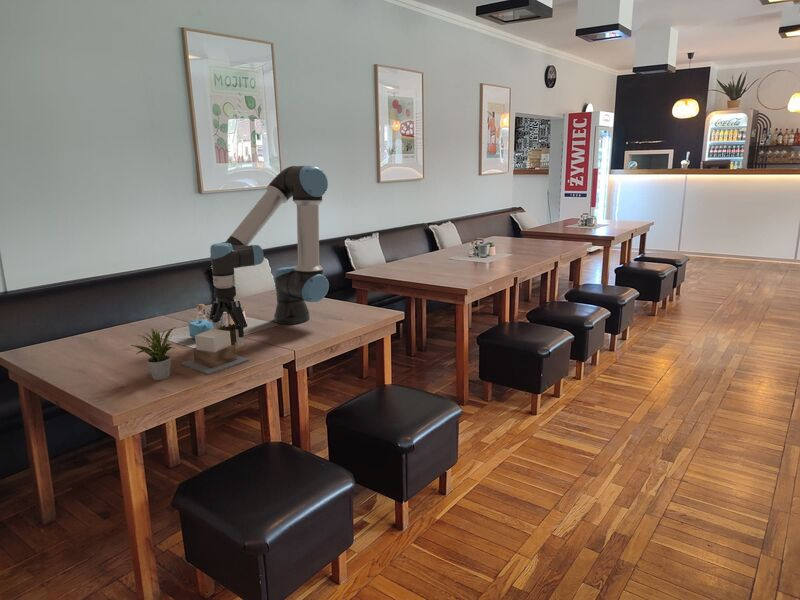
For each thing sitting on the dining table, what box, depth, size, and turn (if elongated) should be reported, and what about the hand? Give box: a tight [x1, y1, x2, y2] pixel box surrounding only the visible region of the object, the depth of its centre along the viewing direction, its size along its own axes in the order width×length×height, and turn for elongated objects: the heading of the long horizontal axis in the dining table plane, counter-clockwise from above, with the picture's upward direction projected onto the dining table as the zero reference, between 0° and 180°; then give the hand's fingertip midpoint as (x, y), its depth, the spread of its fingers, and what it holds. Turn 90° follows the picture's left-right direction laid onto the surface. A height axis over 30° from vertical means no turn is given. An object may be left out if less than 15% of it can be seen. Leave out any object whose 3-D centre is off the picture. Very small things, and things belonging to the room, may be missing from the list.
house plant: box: [130, 326, 177, 381], centre depth 182 cm, size 14×14×16 cm
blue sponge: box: [188, 318, 214, 340], centre depth 221 cm, size 12×6×8 cm, turn 50°
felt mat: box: [181, 354, 250, 376], centre depth 194 cm, size 16×16×1 cm
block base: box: [192, 345, 237, 368], centre depth 193 cm, size 10×10×5 cm
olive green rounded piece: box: [218, 323, 237, 347], centre depth 209 cm, size 8×7×8 cm
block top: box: [194, 328, 231, 352], centre depth 192 cm, size 8×8×5 cm
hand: (229, 342), depth 209 cm, fingers open, 13 cm apart
